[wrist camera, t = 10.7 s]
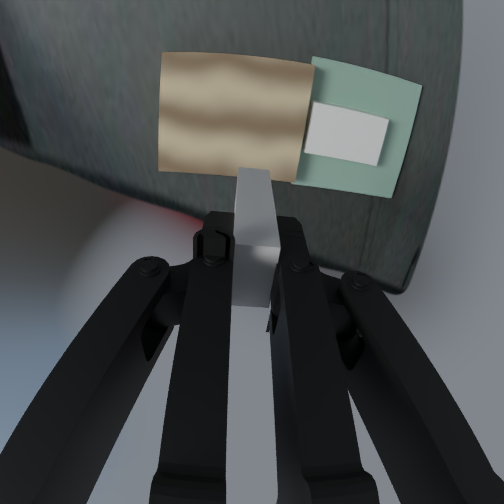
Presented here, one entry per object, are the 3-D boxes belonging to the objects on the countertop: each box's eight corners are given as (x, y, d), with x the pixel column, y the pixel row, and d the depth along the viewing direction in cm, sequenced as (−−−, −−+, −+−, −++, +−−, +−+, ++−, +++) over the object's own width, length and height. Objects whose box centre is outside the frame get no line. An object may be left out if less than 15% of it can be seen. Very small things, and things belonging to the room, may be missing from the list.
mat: (312, 56, 30) (313, 56, 30) (419, 85, 31) (422, 85, 31) (290, 181, 39) (291, 183, 39) (389, 196, 41) (391, 198, 40)
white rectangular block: (302, 147, 36) (304, 152, 35) (311, 99, 33) (314, 102, 31) (371, 160, 37) (376, 166, 35) (382, 115, 33) (389, 119, 32)
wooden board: (167, 51, 30) (162, 52, 28) (311, 64, 31) (315, 65, 29) (163, 163, 38) (158, 170, 36) (292, 174, 39) (294, 182, 37)
